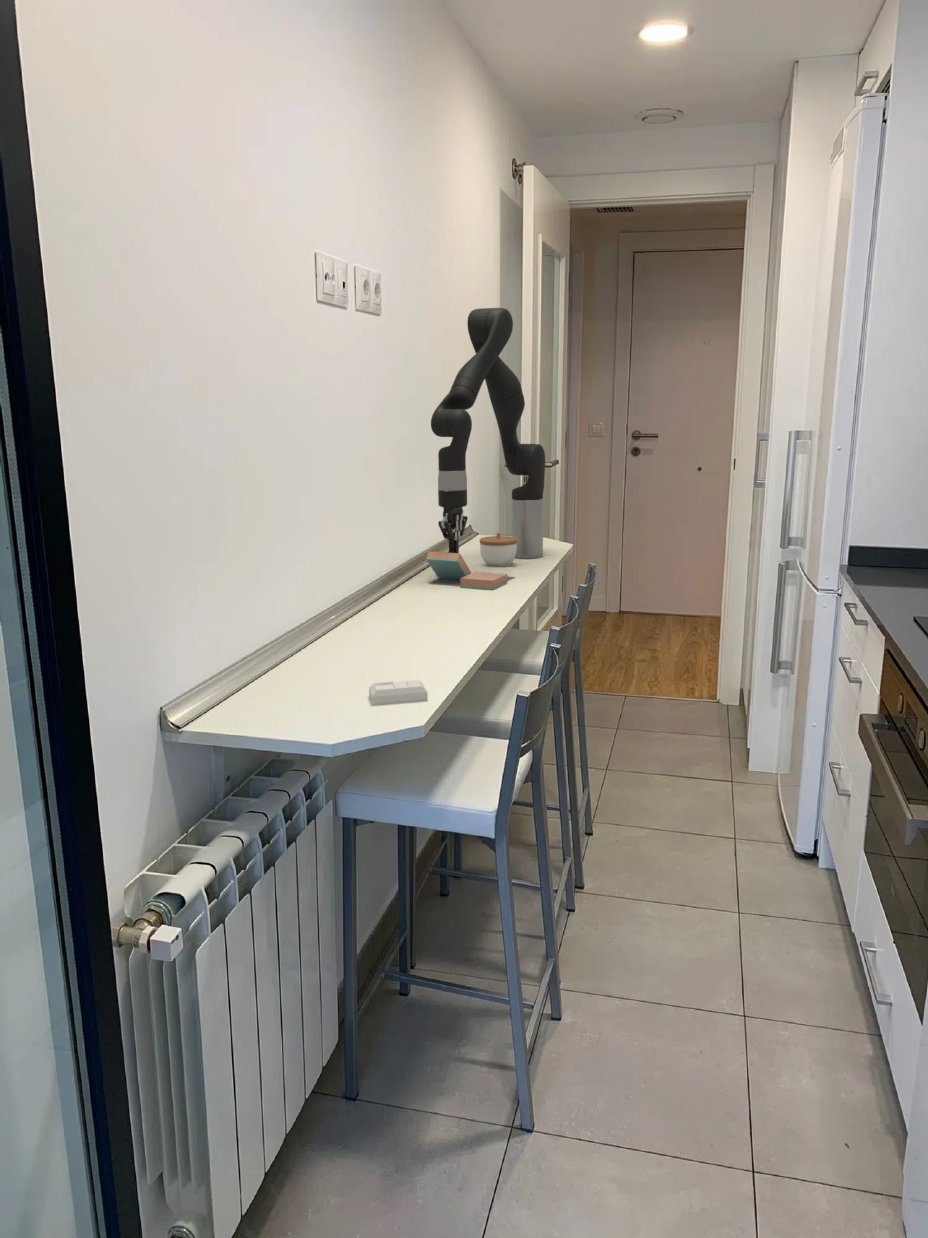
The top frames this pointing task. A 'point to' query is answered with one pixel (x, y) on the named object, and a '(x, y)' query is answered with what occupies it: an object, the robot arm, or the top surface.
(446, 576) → the tile
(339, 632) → the top surface
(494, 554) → the lidded jar
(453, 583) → the mat
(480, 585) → the tile
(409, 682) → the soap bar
